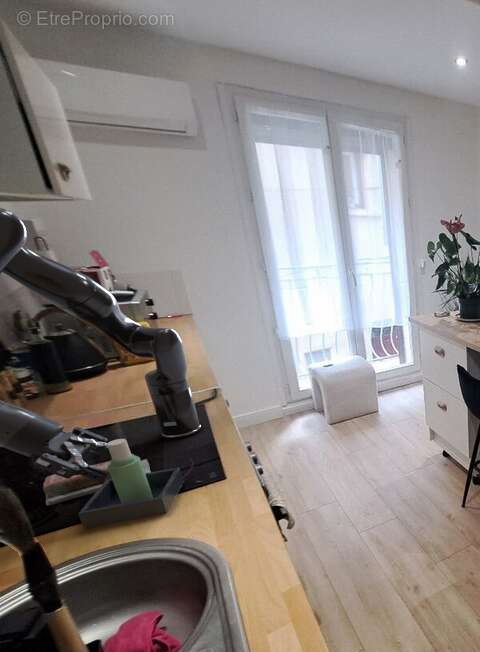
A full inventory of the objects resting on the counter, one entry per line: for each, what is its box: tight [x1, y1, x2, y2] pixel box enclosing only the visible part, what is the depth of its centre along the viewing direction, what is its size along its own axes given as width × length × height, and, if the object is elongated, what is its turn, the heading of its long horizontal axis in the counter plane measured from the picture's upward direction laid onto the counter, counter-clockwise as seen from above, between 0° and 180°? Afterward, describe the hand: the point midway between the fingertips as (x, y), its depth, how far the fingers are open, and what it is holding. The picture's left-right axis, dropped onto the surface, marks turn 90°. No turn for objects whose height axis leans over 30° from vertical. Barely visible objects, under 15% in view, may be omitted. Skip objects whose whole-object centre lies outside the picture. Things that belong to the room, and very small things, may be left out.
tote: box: [77, 467, 184, 530], centre depth 94 cm, size 14×14×5 cm
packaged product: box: [42, 458, 152, 506], centre depth 101 cm, size 18×5×10 cm
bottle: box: [106, 438, 153, 504], centre depth 91 cm, size 5×5×16 cm
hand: (114, 467), depth 90 cm, fingers open, 8 cm apart
